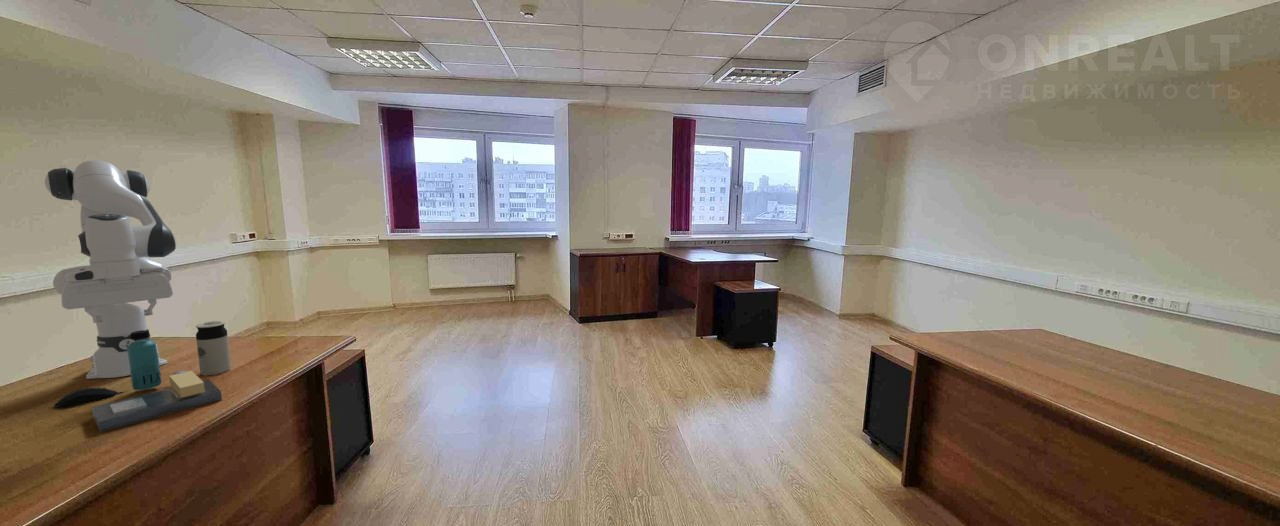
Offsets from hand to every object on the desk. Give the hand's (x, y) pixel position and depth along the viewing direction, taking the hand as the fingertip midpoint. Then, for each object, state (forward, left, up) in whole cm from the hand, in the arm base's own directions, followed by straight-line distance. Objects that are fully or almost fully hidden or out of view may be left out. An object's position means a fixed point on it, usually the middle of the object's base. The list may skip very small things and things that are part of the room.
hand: (124, 318), depth 123 cm
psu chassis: (+2, +4, -28) cm, 28 cm away
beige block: (+2, +10, -24) cm, 26 cm away
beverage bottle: (-16, +4, -28) cm, 33 cm away
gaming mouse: (-20, -6, -29) cm, 36 cm away
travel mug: (-20, +21, -28) cm, 41 cm away
